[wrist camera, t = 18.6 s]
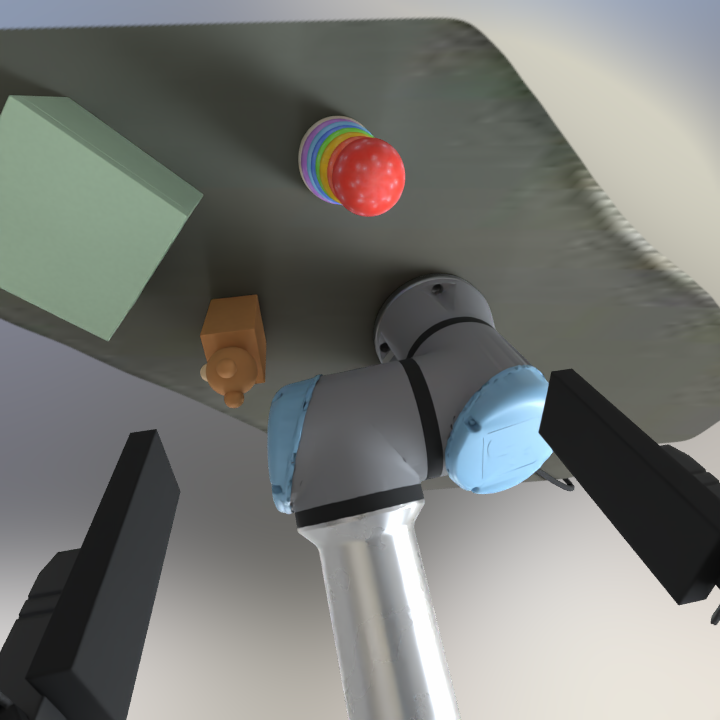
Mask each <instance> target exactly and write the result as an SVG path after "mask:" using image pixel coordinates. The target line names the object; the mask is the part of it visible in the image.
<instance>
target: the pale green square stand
mask: <svg viewBox="0 0 720 720" xmlns="http://www.w3.org/2000/svg"><path fill="white" fill-rule="evenodd" d="M203 196H204V195H203V194H202V193H201V192H199V191H198V190H197V189H195V188H194V187H193V186H191V185H190V184H188V183H187V182H186V181H184V180H183V179H181V178H180V177H179V176H177V175H176V174H174V173H173V172H172V171H170V170H169V169H167V168H166V167H165V166H163V165H162V164H160V163H159V162H158V161H156V160H155V159H154V158H152V157H151V156H149V155H148V154H147V153H145V152H144V151H142V150H141V149H140V148H138V147H137V146H135V145H134V144H133V143H131V142H130V141H128V140H127V139H126V138H124V137H123V136H122V135H120V134H119V133H117V132H116V131H115V130H113V129H112V128H110V127H109V126H108V125H106V124H105V123H103V122H102V121H101V120H99V119H98V118H96V117H95V116H94V115H92V114H91V113H90V112H88V111H87V110H85V109H84V108H83V107H81V106H80V105H78V104H77V103H76V102H74V101H73V100H71V99H70V98H69V97H46V96H18V95H9V96H8V99H7V101H6V103H5V106H4V108H3V110H2V112H1V115H0V288H2V289H4V290H6V291H8V292H10V293H12V294H14V295H16V296H18V297H20V298H22V299H24V300H26V301H28V302H30V303H32V304H34V305H36V306H38V307H40V308H42V309H44V310H46V311H48V312H50V313H52V314H54V315H56V316H58V317H60V318H62V319H64V320H66V321H68V322H70V323H72V324H74V325H76V326H78V327H80V328H82V329H84V330H86V331H88V332H90V333H92V334H94V335H96V336H98V337H100V338H102V339H104V340H106V341H109V340H110V338H111V337H112V335H113V334H114V332H115V331H116V329H117V328H118V327H119V325H120V324H121V322H122V321H123V319H124V318H125V316H126V315H127V314H128V312H129V311H130V309H131V308H132V306H133V305H134V303H135V302H136V301H137V299H138V298H139V296H140V294H141V293H142V290H143V289H144V287H145V286H146V284H147V282H148V281H149V279H150V278H151V276H152V275H153V273H154V271H155V270H156V268H157V267H158V265H159V264H160V262H161V260H162V259H163V257H164V256H165V254H166V253H167V251H168V249H169V248H170V246H171V245H172V243H173V242H174V240H175V238H176V237H177V235H178V234H179V232H180V231H181V229H182V228H183V226H184V224H185V223H186V221H187V220H188V218H189V217H190V215H191V213H192V212H193V210H194V209H195V208H196V206H197V205H198V203H199V202H200V200H201V199H202V197H203Z"/></svg>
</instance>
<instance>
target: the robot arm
mask: <svg viewBox="0 0 720 720" xmlns="http://www.w3.org/2000/svg"><path fill="white" fill-rule="evenodd" d="M373 341H374V346H375V350H376V353H377V355H378V357H379V360H380V362H381V364H378V365H373V366H368V367H364V368H359V369H354V370H349V371H344V372H339V373H335V374H330V375H324V376H323V375H322V374H321V375H316V376H315V377H314V378H311V379H307V380H304V381H300V382H296V383H292V384H288V385H286V386H284V387H282V388H281V389H280V390H279V391H278V392H277V393H276V395H275V396H274V398H273V401H272V404H271V408H270V413H269V420H268V467H269V476H270V482H271V483H272V494H273V500H274V503H275V505H276V508H277V509H278V510H279V511H280V512H285V513H287V514H291V513H294V512H295V516H296V523H297V528H298V532H299V533H300V534H301V535H303V536H304V537H305V538H307V539H308V540H310V541H311V542H312V543H314V544H315V545H316V546H317V548H318V549H319V553H320V559H321V565H322V570H323V576H324V582H325V588H326V593H327V599H328V605H329V610H330V616H331V622H332V628H333V633H334V639H335V645H336V651H337V656H338V662H339V668H340V673H341V679H342V685H343V690H344V696H345V702H346V708H347V713H348V719H349V720H461V717H460V714H459V709H458V705H457V701H456V697H455V693H454V689H453V685H452V681H451V677H450V672H449V669H448V665H447V660H446V656H445V652H444V648H443V644H442V640H441V636H440V632H439V628H438V624H437V620H436V615H435V612H434V607H433V603H432V599H431V595H430V591H429V587H428V583H427V579H426V575H425V571H424V567H423V563H422V559H421V554H420V550H419V546H418V542H417V538H416V534H415V530H414V524H415V520H416V518H417V516H418V514H419V513H420V511H421V509H422V507H423V505H424V503H425V500H424V496H423V492H422V488H421V484H420V482H421V481H423V480H427V479H432V478H436V477H440V476H445V475H449V476H450V478H451V479H452V481H454V482H455V483H456V484H458V485H459V486H460V487H461V488H463V489H464V490H467V491H469V490H471V491H472V492H473V493H477V494H488V493H495V492H499V491H503V490H505V489H508V488H510V487H513V486H515V485H517V484H518V483H520V482H522V481H524V480H525V479H527V478H528V477H529V476H531V475H532V474H533V473H534V472H536V473H537V474H539V475H541V476H542V477H544V478H545V479H547V480H548V481H550V482H551V483H553V484H555V485H556V486H558V487H560V488H562V489H564V490H567V491H573V490H574V485H573V484H572V482H571V481H570V480H569V479H568V478H565V479H563V481H564V482H565V483H566V484H567V485H566V484H564V483H562V482H560V481H558V480H556V479H555V478H553V477H552V476H550V475H548V474H547V473H545V472H544V471H542V470H541V469H539V468H540V466H541V465H542V464H543V462H545V461H546V460H547V459H548V458H549V456H550V455H551V454H552V452H553V451H554V453H555V454H556V455H557V456H558V458H559V459H560V460H561V461H562V462H563V464H564V465H565V466H566V467H567V469H568V470H569V471H570V472H571V474H572V475H573V476H574V477H575V478H576V479H577V481H578V482H579V483H580V485H581V486H582V487H583V488H584V490H585V491H586V492H587V493H588V494H589V496H590V497H591V498H592V499H593V500H594V502H595V503H596V504H597V506H598V507H599V508H600V509H601V510H602V512H603V513H604V514H605V515H606V516H607V518H608V519H609V520H610V521H611V523H612V524H613V525H614V526H615V528H616V529H617V530H618V531H619V533H620V534H621V535H622V536H623V537H624V539H625V540H626V541H627V542H628V544H629V545H630V546H631V547H632V548H633V550H634V551H635V552H636V553H637V555H638V556H639V557H640V558H641V560H642V561H643V562H644V563H645V564H646V566H647V567H648V568H649V569H650V571H651V572H652V573H653V574H654V576H655V577H656V578H657V579H658V580H659V582H660V583H661V584H662V585H663V587H664V588H665V589H666V590H667V592H668V593H669V594H670V595H671V597H672V598H673V599H674V600H675V601H676V603H677V604H678V605H682V604H687V603H691V602H696V601H700V600H704V599H706V598H707V597H708V595H709V593H710V592H711V591H712V589H713V588H714V586H715V585H717V587H718V588H719V589H720V483H719V480H718V479H716V478H715V477H714V476H713V475H712V474H711V473H709V472H706V470H705V468H703V467H702V466H701V465H700V464H699V463H697V462H696V461H695V460H694V459H693V458H691V457H690V456H689V455H687V454H685V453H684V452H681V451H680V450H678V449H676V448H674V447H672V446H670V445H663V446H659V445H658V444H657V443H656V442H655V441H654V440H652V439H651V438H650V437H649V436H648V435H647V434H646V433H645V432H643V431H642V430H641V429H640V428H639V427H638V426H637V425H635V424H634V423H633V422H632V421H631V420H630V419H629V418H627V417H626V416H625V415H624V414H623V413H622V412H621V411H619V410H618V409H617V408H616V407H615V406H614V405H613V404H612V403H610V402H609V401H608V400H607V399H606V398H605V397H604V396H602V395H601V394H600V393H599V392H598V391H597V390H596V389H594V388H593V387H592V386H591V385H590V384H589V383H588V382H586V381H585V380H584V379H583V378H582V377H581V376H580V375H579V374H577V373H576V372H575V371H574V370H573V369H566V370H559V371H553V372H551V376H550V381H549V384H548V382H547V381H546V380H545V377H544V376H543V374H542V373H541V372H540V371H539V370H537V368H535V367H534V366H533V365H531V364H530V363H529V362H528V361H527V360H526V359H525V358H524V357H523V356H522V355H521V354H520V353H519V352H518V351H517V350H516V349H515V348H514V347H513V346H512V345H511V344H510V343H509V342H508V341H507V340H506V339H504V338H503V337H502V336H501V335H500V334H499V333H498V332H497V331H496V330H495V326H494V322H493V318H492V314H491V311H490V307H489V305H488V303H487V301H486V299H485V298H484V296H483V295H482V294H481V293H480V292H479V291H478V290H477V289H476V288H475V287H474V286H473V285H472V284H470V283H469V282H467V281H466V280H464V279H462V278H460V277H457V276H454V275H450V274H429V275H424V276H421V277H418V278H415V279H413V280H411V281H409V282H407V283H405V284H404V285H402V286H401V287H399V288H398V289H397V290H396V291H395V292H393V293H392V294H391V295H390V296H389V298H388V299H387V300H386V301H385V303H384V304H383V306H382V307H381V309H380V311H379V313H378V315H377V318H376V321H375V324H374V330H373ZM179 495H180V489H179V487H178V484H177V481H176V479H175V476H174V474H173V472H172V469H171V466H170V463H169V461H168V458H167V456H166V453H165V450H164V448H163V445H162V442H161V440H160V437H159V434H158V432H157V429H155V430H147V431H141V432H134V433H130V435H129V438H128V440H127V442H126V444H125V447H124V449H123V451H122V454H121V456H120V458H119V461H118V463H117V465H116V468H115V470H114V472H113V475H112V477H111V479H110V482H109V484H108V486H107V488H106V491H105V493H104V495H103V498H102V500H101V502H100V505H99V507H98V509H97V512H96V514H95V516H94V519H93V521H92V523H91V526H90V528H89V530H88V533H87V535H86V537H85V539H84V542H83V544H82V547H81V548H80V549H74V550H69V551H63V552H58V553H57V554H56V555H55V556H54V557H53V558H52V560H51V561H50V562H49V563H48V564H47V565H46V566H45V567H44V569H43V570H42V571H41V572H40V573H39V575H38V577H37V579H36V581H35V583H34V585H33V587H32V589H31V591H30V593H29V595H28V600H26V601H25V603H24V605H23V607H22V609H21V611H20V613H19V619H17V620H16V621H15V623H14V625H13V627H12V629H11V632H10V633H9V636H8V638H7V639H6V642H5V643H4V645H3V647H2V650H1V652H0V720H126V718H127V714H128V710H129V706H130V702H131V697H132V693H133V689H134V685H135V680H136V676H137V672H138V668H139V664H140V659H141V655H142V651H143V646H144V642H145V638H146V634H147V630H148V626H149V621H150V617H151V613H152V608H153V604H154V600H155V596H156V592H157V588H158V583H159V579H160V575H161V571H162V566H163V562H164V558H165V554H166V549H167V545H168V541H169V537H170V533H171V528H172V524H173V520H174V516H175V511H176V507H177V503H178V499H179ZM719 621H720V605H719V606H718V608H717V609H716V611H715V612H714V613H713V615H712V618H711V624H714V625H717V623H718V622H719Z"/></svg>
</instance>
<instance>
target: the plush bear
mask: <svg viewBox="0 0 720 720" xmlns="http://www.w3.org/2000/svg"><path fill="white" fill-rule="evenodd" d="M200 337H201V341H202V345H203V348H204V352H205V356H206V359H207V364H205V365H204V366H203V367H202V368H201V372H200V373H201V377H202V378H203V379H204V380H205V381H208V383H209V385H210V386H211V387H212V388H213V389H214V390H215V391H216V392H217V393H219V394H221V395H224V396H225V397H224V401H225V403H226V405H227V406H229V407H231V408H237V407H239V406H241V405H242V403H243V402H244V395H243V394H244V393H246V392H247V391H249V390H250V389H251V388H252V387H253V385H254V384H257V383H264V382H265V366H266V339H265V334H264V329H263V323H262V318H261V313H260V307H259V302H258V297H257V295H247V296H238V297H229V298H221V299H212V300H211V302H210V305H209V308H208V311H207V315H206V318H205V321H204V324H203V327H202V331H201V334H200Z"/></svg>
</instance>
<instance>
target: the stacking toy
mask: <svg viewBox="0 0 720 720" xmlns="http://www.w3.org/2000/svg"><path fill="white" fill-rule="evenodd" d="M298 164H299V170H300V174H301V176H302V179H303V181H304V183H305V184H306V186H307V187H308V189H309V190H310V191H311V192H312V193H313V194H315V195H316V196H317V197H319V198H321V199H322V200H324V201H326V202H329V203H333V204H339V205H343V206H344V207H345V208H346V209H348V210H349V211H350V212H352V213H354V214H357V215H360V216H367V217H369V216H377V215H380V214H382V213H384V212H386V211H388V210H389V209H390V208H391V207H393V206H394V205H395V204H396V202H397V201H398V199H399V198H400V196H401V194H402V191H403V188H404V183H405V169H404V165H403V162H402V159H401V157H400V156H399V154H398V152H397V151H396V150H395V149H394V148H393V147H392V146H391V145H390V144H388V143H387V142H385V141H383V140H381V139H378V138H374V137H373V135H372V134H371V133H370V132H369V131H368V130H367V129H366V128H365V127H364V126H363V125H361V124H360V123H359V122H357V121H355V120H354V119H351V118H349V117H345V116H330V117H326V118H324V119H321V120H319V121H318V122H316V123H315V124H314V125H312V126H311V127H310V128H309V130H308V131H307V132H306V134H305V135H304V137H303V139H302V141H301V144H300V148H299V154H298Z"/></svg>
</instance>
